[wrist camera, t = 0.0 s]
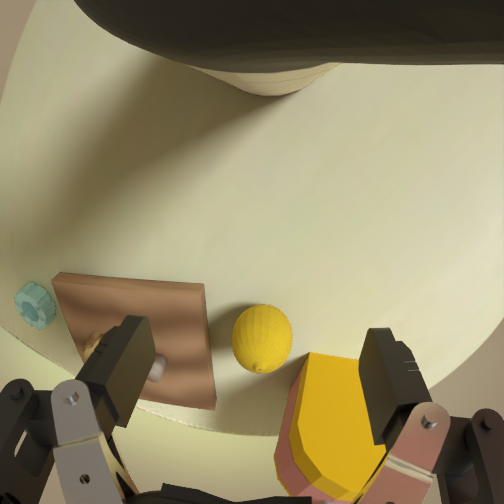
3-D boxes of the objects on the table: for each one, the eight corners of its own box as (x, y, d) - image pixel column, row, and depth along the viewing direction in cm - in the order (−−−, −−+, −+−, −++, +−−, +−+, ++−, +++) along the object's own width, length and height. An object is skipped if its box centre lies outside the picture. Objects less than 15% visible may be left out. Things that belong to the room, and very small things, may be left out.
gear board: (60, 272, 32) (29, 303, 26) (203, 283, 30) (188, 326, 25) (101, 379, 40) (85, 411, 34) (216, 399, 39) (209, 437, 33)
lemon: (247, 335, 33) (239, 393, 26) (229, 295, 31) (216, 352, 24) (297, 325, 32) (300, 383, 25) (283, 283, 30) (284, 339, 23)
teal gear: (19, 280, 33) (8, 289, 31) (47, 284, 33) (37, 295, 30) (32, 315, 36) (23, 325, 34) (61, 321, 35) (52, 333, 33)
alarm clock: (275, 391, 37) (268, 523, 21) (295, 349, 34) (297, 505, 17) (374, 403, 38) (394, 517, 22) (404, 365, 34) (441, 492, 18)
